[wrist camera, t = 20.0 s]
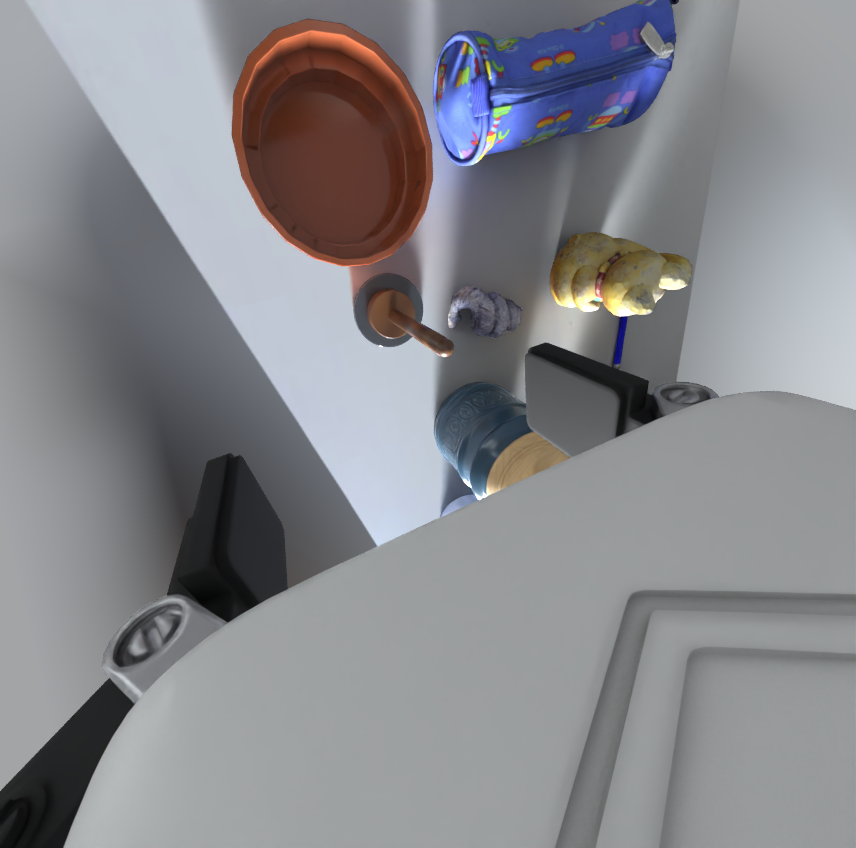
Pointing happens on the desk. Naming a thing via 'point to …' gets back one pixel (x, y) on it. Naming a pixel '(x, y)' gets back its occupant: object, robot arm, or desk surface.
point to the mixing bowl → (332, 143)
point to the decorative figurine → (614, 274)
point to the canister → (491, 438)
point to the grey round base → (365, 295)
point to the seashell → (485, 312)
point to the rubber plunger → (403, 321)
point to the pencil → (620, 342)
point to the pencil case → (551, 81)
